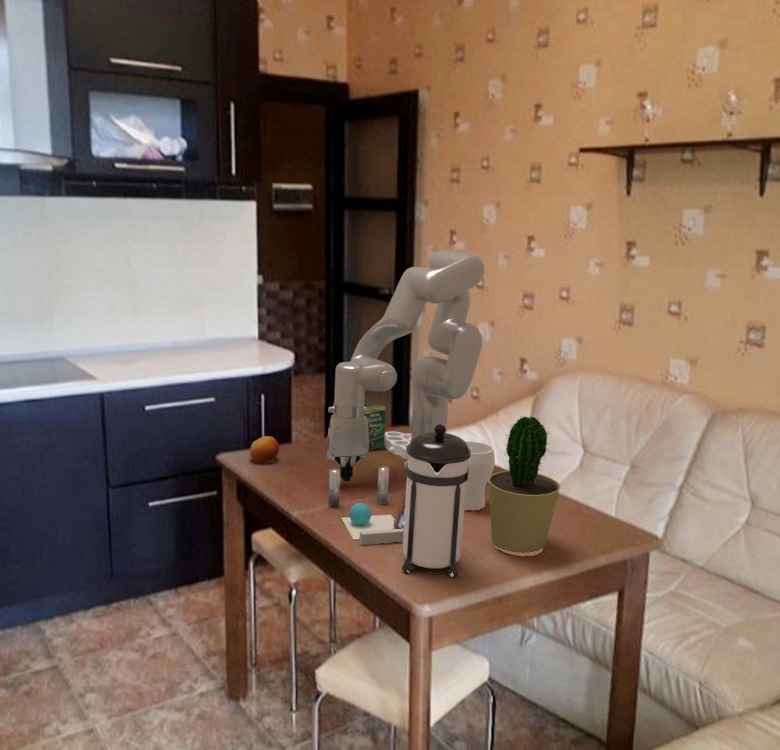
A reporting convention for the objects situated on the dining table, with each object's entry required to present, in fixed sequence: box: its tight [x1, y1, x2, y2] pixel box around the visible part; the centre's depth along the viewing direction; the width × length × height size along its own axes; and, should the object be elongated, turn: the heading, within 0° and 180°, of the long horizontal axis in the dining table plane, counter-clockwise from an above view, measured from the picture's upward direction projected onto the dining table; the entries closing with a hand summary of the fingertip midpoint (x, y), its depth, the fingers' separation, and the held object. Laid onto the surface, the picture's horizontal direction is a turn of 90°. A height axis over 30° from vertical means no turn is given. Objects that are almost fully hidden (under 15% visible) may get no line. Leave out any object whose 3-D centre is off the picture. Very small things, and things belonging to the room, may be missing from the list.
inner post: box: [376, 465, 390, 506], centre depth 199 cm, size 3×3×9 cm
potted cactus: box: [487, 413, 561, 553], centre depth 176 cm, size 15×15×30 cm
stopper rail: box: [358, 527, 404, 546], centre depth 178 cm, size 12×2×2 cm, turn 106°
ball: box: [348, 502, 372, 525], centre depth 186 cm, size 5×5×5 cm
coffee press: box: [401, 424, 471, 577], centre depth 167 cm, size 17×16×30 cm
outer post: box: [327, 467, 341, 509], centre depth 196 cm, size 3×3×9 cm
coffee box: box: [364, 404, 387, 452], centre depth 239 cm, size 8×3×13 cm, turn 119°
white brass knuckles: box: [384, 430, 412, 460], centre depth 243 cm, size 3×18×15 cm
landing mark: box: [340, 514, 396, 541], centre depth 185 cm, size 12×12×1 cm
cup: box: [464, 441, 496, 511], centre depth 200 cm, size 11×11×15 cm
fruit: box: [249, 435, 280, 464], centre depth 225 cm, size 8×8×8 cm
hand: (346, 479), depth 210 cm, fingers closed
